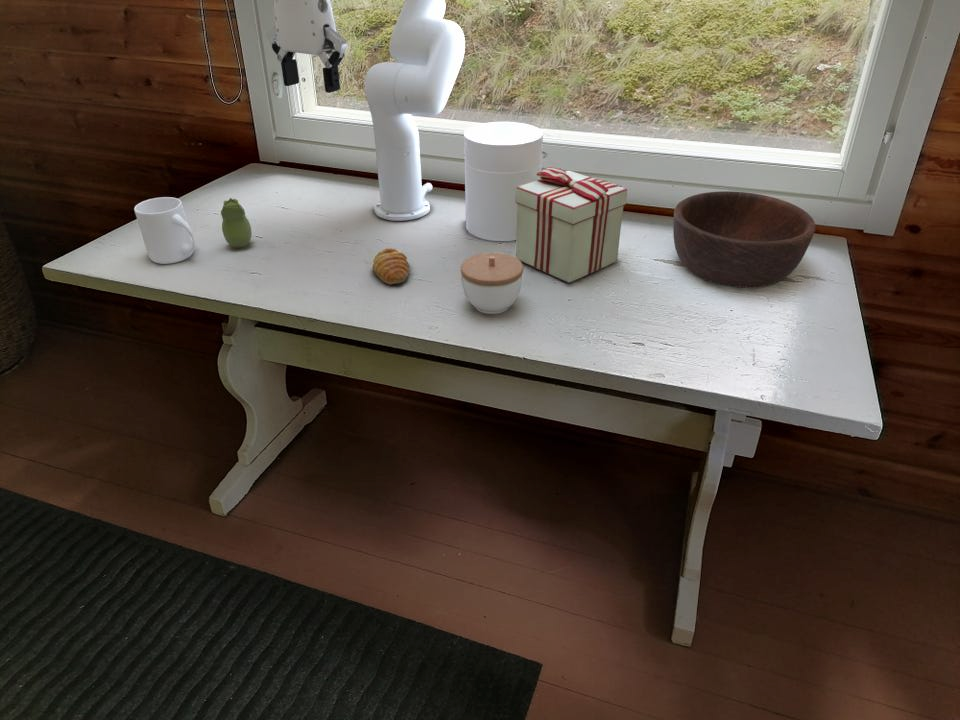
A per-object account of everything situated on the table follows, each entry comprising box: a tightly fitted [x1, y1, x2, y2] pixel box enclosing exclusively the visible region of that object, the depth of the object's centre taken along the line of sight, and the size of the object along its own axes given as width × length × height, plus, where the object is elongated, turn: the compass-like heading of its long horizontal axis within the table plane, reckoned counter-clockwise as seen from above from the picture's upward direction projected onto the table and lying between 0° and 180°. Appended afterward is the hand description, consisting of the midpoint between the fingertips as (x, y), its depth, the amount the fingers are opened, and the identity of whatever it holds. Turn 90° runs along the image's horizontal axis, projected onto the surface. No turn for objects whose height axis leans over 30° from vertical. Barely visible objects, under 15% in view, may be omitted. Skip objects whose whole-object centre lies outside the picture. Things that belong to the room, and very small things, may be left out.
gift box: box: [515, 166, 628, 284], centre depth 133 cm, size 17×18×17 cm
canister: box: [463, 121, 544, 242], centre depth 145 cm, size 16×16×20 cm
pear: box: [220, 197, 253, 249], centre depth 141 cm, size 6×5×10 cm
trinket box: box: [460, 252, 524, 315], centre depth 120 cm, size 11×11×9 cm
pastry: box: [372, 247, 410, 285], centre depth 131 cm, size 9×7×4 cm
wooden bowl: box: [672, 190, 816, 289], centre depth 132 cm, size 25×25×10 cm
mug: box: [133, 196, 196, 265], centre depth 137 cm, size 9×12×11 cm
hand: (312, 87), depth 122 cm, fingers open, 9 cm apart
